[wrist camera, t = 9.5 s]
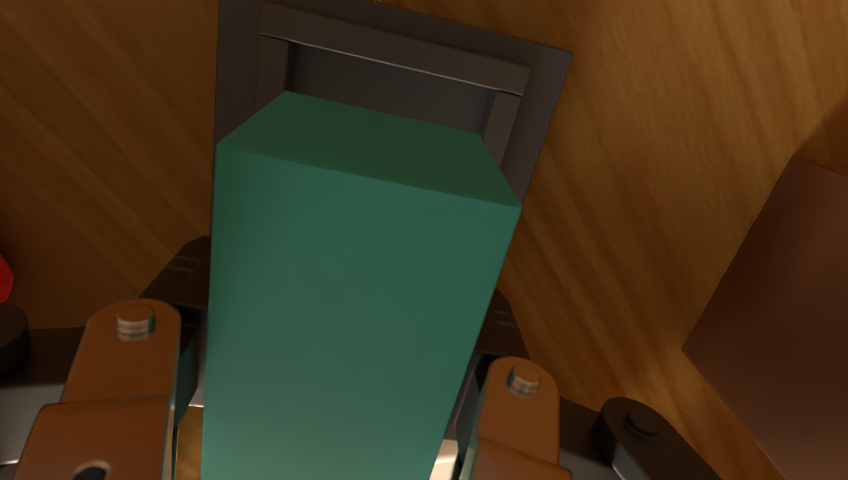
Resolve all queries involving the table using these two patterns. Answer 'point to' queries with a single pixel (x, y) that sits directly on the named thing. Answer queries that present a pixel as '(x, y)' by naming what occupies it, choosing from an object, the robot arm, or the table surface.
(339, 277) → the teal green block
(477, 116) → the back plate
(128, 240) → the table surface
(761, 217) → the riser
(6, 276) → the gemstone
